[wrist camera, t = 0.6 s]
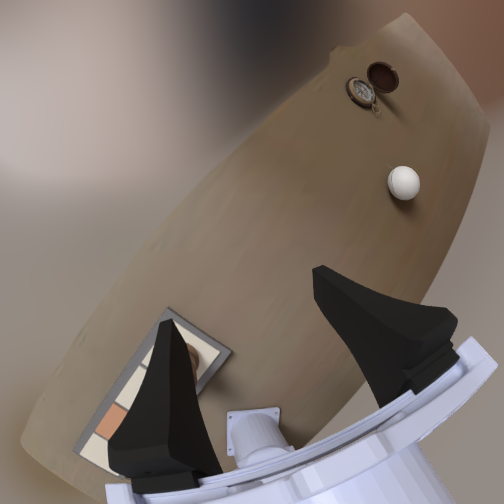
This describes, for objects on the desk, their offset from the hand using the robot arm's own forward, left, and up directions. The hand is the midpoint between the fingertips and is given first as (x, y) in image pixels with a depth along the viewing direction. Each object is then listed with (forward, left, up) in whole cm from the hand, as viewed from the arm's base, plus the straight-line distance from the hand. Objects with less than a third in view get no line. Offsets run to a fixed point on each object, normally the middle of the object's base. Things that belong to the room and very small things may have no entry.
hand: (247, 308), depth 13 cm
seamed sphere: (+15, -28, -22) cm, 39 cm away
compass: (+31, -25, -22) cm, 46 cm away
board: (-21, +11, -22) cm, 32 cm away
